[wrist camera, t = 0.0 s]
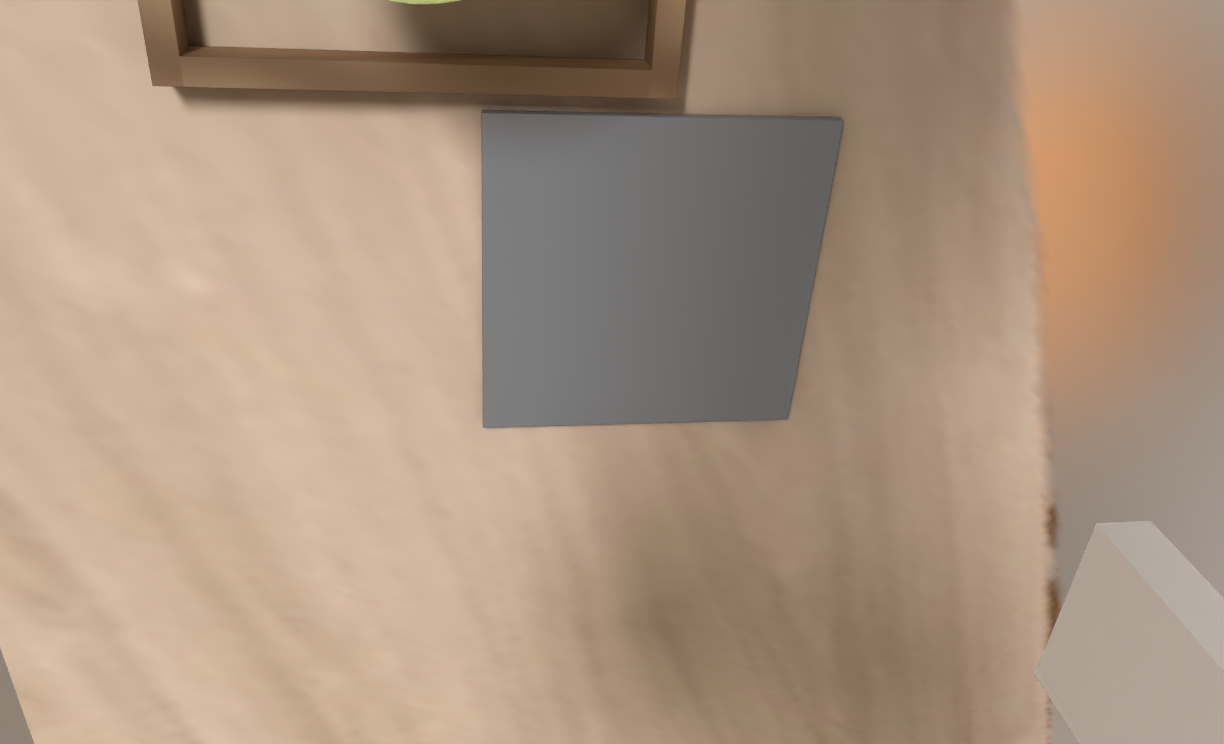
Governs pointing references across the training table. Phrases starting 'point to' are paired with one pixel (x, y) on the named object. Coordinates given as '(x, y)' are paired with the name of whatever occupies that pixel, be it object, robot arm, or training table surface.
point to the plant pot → (423, 1)
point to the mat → (648, 264)
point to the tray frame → (412, 64)
